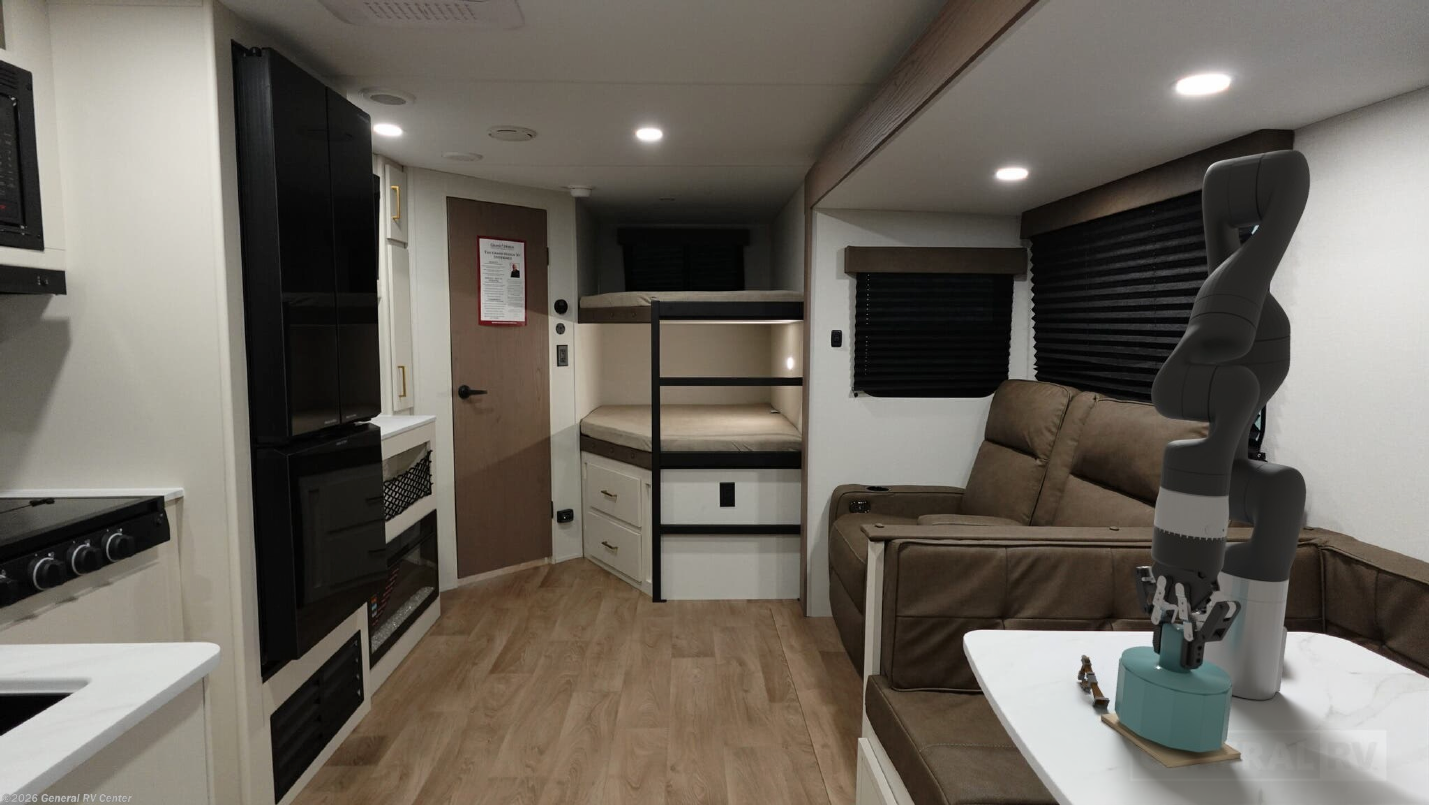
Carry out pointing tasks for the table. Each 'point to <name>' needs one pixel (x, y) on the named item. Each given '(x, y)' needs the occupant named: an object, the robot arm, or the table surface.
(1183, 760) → the board
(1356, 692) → the table surface
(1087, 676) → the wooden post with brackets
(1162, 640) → the teal lid with knob
